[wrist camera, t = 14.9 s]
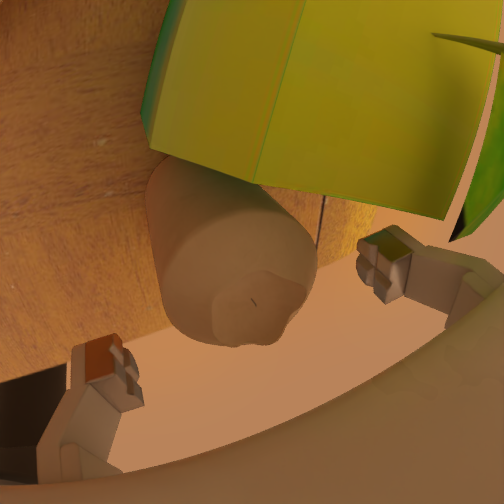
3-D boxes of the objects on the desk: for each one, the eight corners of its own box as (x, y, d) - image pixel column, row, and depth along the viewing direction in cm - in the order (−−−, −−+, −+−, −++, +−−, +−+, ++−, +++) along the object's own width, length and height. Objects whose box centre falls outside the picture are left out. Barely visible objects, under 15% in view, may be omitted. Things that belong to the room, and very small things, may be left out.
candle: (223, 130, 16) (329, 201, 8) (251, 214, 19) (345, 327, 11) (127, 173, 15) (132, 294, 7) (168, 252, 19) (212, 393, 11)
